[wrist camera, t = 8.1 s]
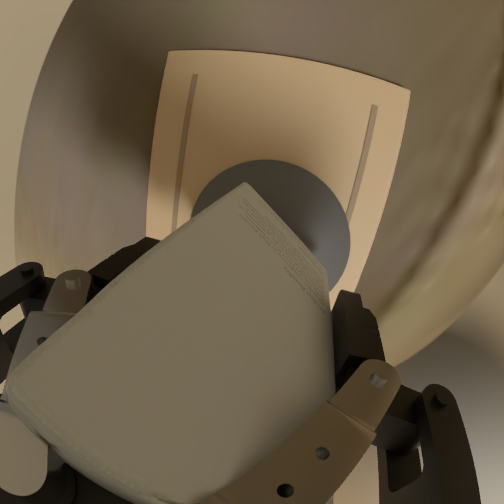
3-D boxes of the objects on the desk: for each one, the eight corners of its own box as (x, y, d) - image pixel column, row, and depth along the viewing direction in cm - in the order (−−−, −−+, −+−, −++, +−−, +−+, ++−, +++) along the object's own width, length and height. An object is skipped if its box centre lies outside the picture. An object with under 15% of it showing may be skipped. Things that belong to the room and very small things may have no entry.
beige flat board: (173, 53, 12) (168, 50, 12) (407, 92, 11) (411, 90, 10) (150, 301, 19) (146, 306, 19) (323, 352, 18) (323, 359, 17)
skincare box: (191, 234, 14) (3, 411, 3) (250, 174, 12) (-20, 361, 1) (271, 314, 15) (196, 537, 4) (337, 269, 13) (333, 551, 2)
